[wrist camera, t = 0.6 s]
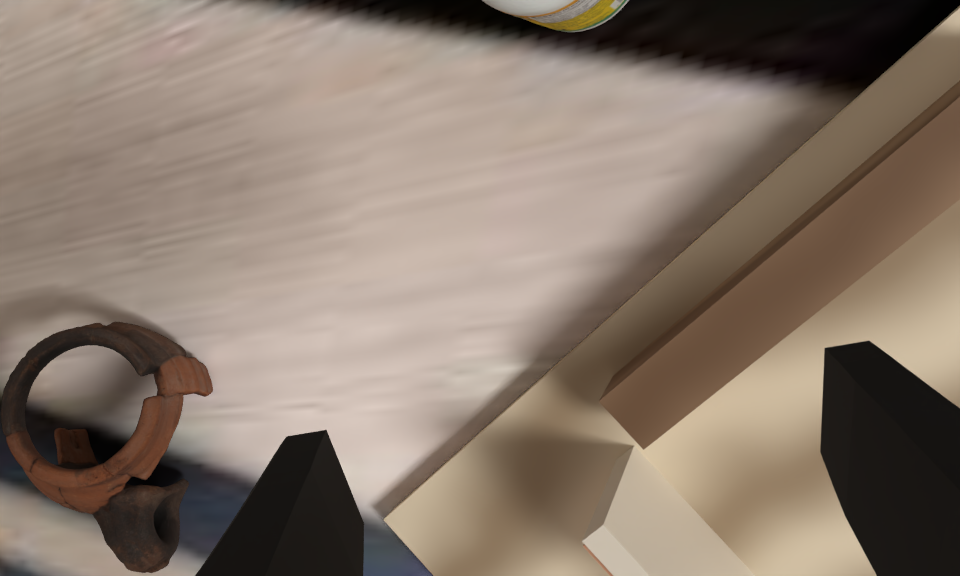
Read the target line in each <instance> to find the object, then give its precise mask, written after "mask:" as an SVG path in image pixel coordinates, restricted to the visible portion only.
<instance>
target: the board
mask: <svg viewBox="0 0 960 576" xmlns="http://www.w3.org/2000/svg"><path fill="white" fill-rule="evenodd" d="M958 81H960V6H959V7H957V8H956V9H955V10H954V11H953V12H952V13H951V14H950V15H948V16H947V17H946V18H945V19H944V20H943V21H942V22H941V23H939V24H938V25H937V26H936V27H935V28H934V29H933V30H932V31H930V32H929V33H928V34H927V35H926V36H925V37H924V38H923V39H921V40H920V41H919V42H918V43H917V44H916V45H915V46H914V47H912V48H911V49H910V50H909V51H908V52H907V53H906V54H905V55H903V56H902V57H901V58H900V59H899V60H898V61H897V62H896V63H894V64H893V65H892V66H891V67H890V68H889V69H888V70H887V71H885V72H884V73H883V74H882V75H881V76H880V77H879V78H878V79H876V80H875V81H874V82H873V83H872V84H871V85H870V86H869V87H867V88H866V89H865V90H864V91H863V92H862V93H861V94H860V95H858V96H857V97H856V98H855V99H854V100H853V101H852V102H851V103H849V104H848V105H847V106H846V107H845V108H844V109H843V110H842V111H840V112H839V113H838V114H837V115H836V116H835V117H834V118H833V119H831V120H830V121H829V122H828V123H827V124H826V125H825V126H824V127H822V128H821V129H820V130H819V131H818V132H817V133H816V134H815V135H813V136H812V137H811V138H810V139H809V140H808V141H807V142H806V143H804V144H803V145H802V146H801V147H800V148H799V149H798V150H797V151H795V152H794V153H793V154H792V155H791V156H790V157H789V158H788V159H786V160H785V161H784V162H783V163H782V164H781V165H780V166H779V167H777V168H776V169H775V170H774V171H773V172H772V173H771V174H770V175H768V176H767V177H766V178H765V179H764V180H763V181H762V182H761V183H760V184H758V185H757V186H756V187H755V188H754V189H753V190H752V191H751V192H749V193H748V194H747V195H746V196H745V197H744V198H743V199H742V200H740V201H739V202H738V203H737V204H736V205H735V206H734V207H733V208H731V209H730V210H729V211H728V212H727V213H726V214H725V215H724V216H722V217H721V218H720V219H719V220H718V221H717V222H716V223H715V224H713V225H712V226H711V227H710V228H709V229H708V230H707V231H706V232H704V233H703V234H702V235H701V236H700V237H699V238H698V239H697V240H695V241H694V242H693V243H692V244H691V245H690V246H689V247H688V248H686V249H685V250H684V251H683V252H682V253H681V254H680V255H679V256H677V257H676V258H675V259H674V260H673V261H672V262H671V263H670V264H668V265H667V266H666V267H665V268H664V269H663V270H662V271H661V272H659V273H658V274H657V275H656V276H655V277H654V278H653V279H652V280H650V281H649V282H648V283H647V284H646V285H645V286H644V287H643V288H641V289H640V290H639V291H638V292H637V293H636V294H635V295H634V296H632V297H631V298H630V299H629V300H628V301H627V302H626V303H625V304H623V305H622V306H621V307H620V308H619V309H618V310H617V311H616V312H614V313H613V314H612V315H611V316H610V317H609V318H608V319H607V320H605V321H604V322H603V323H602V324H601V325H600V326H599V327H598V328H596V329H595V330H594V331H593V332H592V333H591V334H590V335H589V336H587V337H586V338H585V339H584V340H583V341H582V342H581V343H580V344H578V345H577V346H576V347H575V348H574V349H573V350H572V351H571V352H569V353H568V354H567V355H566V356H565V357H564V358H563V359H562V360H560V361H559V362H558V363H557V364H556V365H555V366H554V367H553V368H551V369H550V370H549V371H548V372H547V373H546V374H545V375H544V376H542V377H541V378H540V379H539V380H538V381H537V382H536V383H535V384H533V385H532V386H531V387H530V388H529V389H528V390H527V391H526V392H524V393H523V394H522V395H521V396H520V397H519V398H518V399H517V400H515V401H514V402H513V403H512V404H511V405H510V406H509V407H508V408H506V409H505V410H504V411H503V412H502V413H501V414H500V415H499V416H497V417H496V418H495V419H494V420H493V421H492V422H491V423H490V424H488V425H487V426H486V427H485V428H484V429H483V430H482V431H481V432H479V433H478V434H477V435H476V436H475V437H474V438H473V439H472V440H470V441H469V442H468V443H467V444H466V445H465V446H464V447H463V448H461V449H460V450H459V451H458V452H457V453H456V454H455V455H454V456H452V457H451V458H450V459H449V460H448V461H447V462H446V463H445V464H443V465H442V466H441V467H440V468H439V469H438V470H437V471H436V472H434V473H433V474H432V475H431V476H430V477H429V478H428V479H427V480H425V481H424V482H423V483H422V484H421V485H420V486H419V487H418V488H416V489H415V490H414V491H413V492H412V493H411V494H410V495H409V496H407V497H406V498H405V499H404V500H403V501H402V502H401V503H400V504H398V505H397V506H396V507H395V508H394V509H393V510H392V511H391V512H390V513H389V514H388V515H387V516H386V517H385V518H384V521H385V522H386V523H387V524H388V525H389V526H390V528H391V529H392V530H393V531H394V532H395V533H396V534H397V535H398V537H399V538H400V539H401V540H402V541H403V542H404V543H405V544H406V545H407V547H408V548H409V549H410V550H411V551H412V552H413V553H414V554H415V556H416V557H417V558H418V559H419V560H420V561H421V562H422V563H423V564H424V566H425V567H426V568H427V569H428V570H429V571H430V572H431V573H432V575H433V576H610V575H609V574H608V573H607V572H606V571H605V570H604V569H603V567H602V566H601V565H600V564H599V563H598V562H597V561H596V560H595V559H594V558H593V557H592V555H591V554H590V553H589V552H588V551H587V550H586V549H585V548H584V547H583V545H584V543H583V542H582V540H583V537H584V535H585V533H586V530H587V528H588V526H589V523H590V521H591V519H592V516H593V514H594V512H595V509H596V507H597V504H598V502H599V500H600V497H601V495H602V493H603V490H604V488H605V486H606V483H607V481H608V479H609V476H610V474H611V471H612V469H613V467H614V464H615V462H616V460H617V459H618V458H619V457H620V456H622V455H623V454H624V453H625V452H627V451H628V450H629V449H630V448H632V447H633V446H635V447H636V448H637V449H638V450H639V451H640V452H641V453H642V454H643V456H644V457H645V458H646V459H647V460H648V461H649V462H650V463H651V464H652V465H653V466H654V467H655V468H656V469H657V471H658V472H659V473H660V474H661V475H662V476H663V477H664V478H665V479H666V480H667V481H668V482H669V483H670V485H671V486H672V487H673V488H674V489H675V490H676V491H677V492H678V493H679V494H680V495H681V496H682V497H683V499H684V500H685V501H686V502H687V503H688V504H689V505H690V506H691V507H692V508H693V509H694V510H695V511H696V512H697V514H698V515H699V516H700V517H701V518H702V519H703V520H704V521H705V522H706V523H707V524H708V525H709V526H710V528H711V529H712V530H713V531H714V532H715V533H716V534H717V535H718V536H719V537H720V538H721V539H722V540H723V541H724V543H725V544H726V545H727V546H728V547H729V548H730V549H731V550H732V551H733V552H734V553H735V554H736V555H737V557H738V558H739V559H740V560H741V561H742V562H743V563H744V564H745V565H746V566H747V567H748V568H749V569H750V571H751V572H752V573H753V574H754V575H755V576H877V575H876V573H875V571H874V570H873V568H872V566H871V564H870V562H869V560H868V558H867V557H866V555H865V553H864V551H863V549H862V547H861V545H860V543H859V542H858V540H857V538H856V536H855V534H854V532H853V530H852V528H851V527H850V525H849V523H848V521H847V519H846V517H845V515H844V512H843V510H842V507H841V505H840V502H839V500H838V497H837V495H836V492H835V490H834V487H833V485H832V482H831V479H830V477H829V474H828V471H827V469H826V466H825V463H824V461H823V458H822V455H821V453H820V446H821V422H822V398H823V374H824V350H825V348H827V347H833V346H839V345H845V344H851V343H857V342H863V341H871V342H872V343H873V344H875V345H876V346H877V347H879V348H880V349H881V350H883V351H884V352H885V353H887V354H888V355H890V356H891V357H892V358H893V359H895V360H896V361H897V362H899V363H900V364H901V365H903V366H904V367H905V368H907V369H908V370H909V371H911V372H912V373H913V374H915V375H916V376H917V377H919V378H920V379H921V380H923V381H924V382H925V383H927V384H928V385H929V386H931V387H932V388H933V389H935V390H936V391H937V392H939V393H940V394H941V395H943V396H944V397H945V398H947V399H948V400H949V401H951V402H952V403H953V404H955V405H956V406H958V407H959V408H960V200H958V201H957V202H956V203H955V204H953V205H952V206H951V207H950V208H948V209H947V210H946V211H945V212H943V213H942V214H941V215H939V216H938V217H937V218H936V219H934V220H933V221H932V222H931V223H929V224H928V225H927V226H926V227H924V228H923V229H922V230H921V231H919V232H918V233H917V234H915V235H914V236H913V237H912V238H910V239H909V240H908V241H907V242H905V243H904V244H903V245H902V246H900V247H899V248H898V249H897V250H895V251H894V252H893V253H892V254H890V255H889V256H888V257H886V258H885V259H884V260H883V261H881V262H880V263H879V264H878V265H876V266H875V267H874V268H873V269H871V270H870V271H869V272H868V273H866V274H865V275H864V276H862V277H861V278H860V279H859V280H857V281H856V282H855V283H854V284H852V285H851V286H850V287H849V288H847V289H846V290H845V291H844V292H842V293H841V294H840V295H839V296H837V297H836V298H835V299H833V300H832V301H831V302H830V303H828V304H827V305H826V306H825V307H823V308H822V309H821V310H820V311H818V312H817V313H816V314H815V315H813V316H812V317H811V318H809V319H808V320H807V321H806V322H804V323H803V324H802V325H801V326H799V327H798V328H797V329H796V330H794V331H793V332H792V333H791V334H789V335H788V336H787V337H786V338H784V339H783V340H782V341H780V342H779V343H778V344H777V345H775V346H774V347H773V348H772V349H770V350H769V351H768V352H767V353H765V354H764V355H763V356H762V357H760V358H759V359H758V360H756V361H755V362H754V363H753V364H751V365H750V366H749V367H748V368H746V369H745V370H744V371H743V372H741V373H740V374H739V375H738V376H736V377H735V378H734V379H733V380H731V381H730V382H729V383H727V384H726V385H725V386H724V387H722V388H721V389H720V390H719V391H717V392H716V393H715V394H714V395H712V396H711V397H710V398H709V399H707V400H706V401H705V402H703V403H702V404H701V405H700V406H698V407H697V408H696V409H695V410H693V411H692V412H691V413H690V414H688V415H687V416H686V417H685V418H683V419H682V420H681V421H679V422H678V423H677V424H676V425H674V426H673V427H672V428H671V429H669V430H668V431H667V432H666V433H664V434H663V435H662V436H661V437H659V438H658V439H657V440H656V441H654V442H653V443H652V444H650V445H649V446H648V447H647V448H645V449H644V450H643V449H642V448H641V447H640V445H639V444H638V443H637V442H636V441H635V440H634V439H633V438H632V437H631V436H630V435H629V434H628V433H627V432H626V430H625V429H624V428H623V427H622V426H621V425H620V424H619V423H618V422H617V421H616V420H615V419H614V418H613V416H612V415H611V414H610V413H609V412H608V411H607V410H606V409H605V408H604V407H603V406H602V405H601V404H600V403H599V400H600V398H601V396H602V395H603V393H604V391H605V389H606V387H607V386H608V384H609V382H610V380H611V379H612V377H613V375H614V374H616V373H617V372H618V371H619V370H620V369H622V368H623V367H624V366H625V365H626V364H627V363H629V362H630V361H631V360H632V359H633V358H634V357H636V356H637V355H638V354H639V353H640V352H641V351H643V350H644V349H645V348H646V347H647V346H649V345H650V344H651V343H652V342H653V341H654V340H656V339H657V338H658V337H659V336H660V335H661V334H663V333H664V332H665V331H666V330H667V329H668V328H670V327H671V326H672V325H673V324H674V323H676V322H677V321H678V320H679V319H680V318H681V317H683V316H684V315H685V314H686V313H687V312H688V311H690V310H691V309H692V308H693V307H694V306H695V305H697V304H698V303H699V302H700V301H701V300H703V299H704V298H705V297H706V296H707V295H708V294H710V293H711V292H712V291H713V290H714V289H715V288H717V287H718V286H719V285H720V284H721V283H722V282H724V281H725V280H726V279H727V278H728V277H730V276H731V275H732V274H733V273H734V272H735V271H737V270H738V269H739V268H740V267H741V266H742V265H744V264H745V263H746V262H747V261H748V260H750V259H751V258H752V257H753V256H754V255H755V254H757V253H758V252H759V251H760V250H761V249H762V248H764V247H765V246H766V245H767V244H768V243H769V242H771V241H772V240H773V239H774V238H775V237H777V236H778V235H779V234H780V233H781V232H782V231H784V230H785V229H786V228H787V227H788V226H789V225H791V224H792V223H793V222H794V221H795V220H796V219H798V218H799V217H800V216H801V215H802V214H804V213H805V212H806V211H807V210H808V209H809V208H811V207H812V206H813V205H814V204H815V203H816V202H818V201H819V200H820V199H821V198H822V197H823V196H825V195H826V194H827V193H828V192H829V191H831V190H832V189H833V188H834V187H835V186H836V185H838V184H839V183H840V182H841V181H842V180H843V179H845V178H846V177H847V176H848V175H849V174H850V173H852V172H853V171H854V170H855V169H856V168H858V167H859V166H860V165H861V164H862V163H863V162H865V161H866V160H867V159H868V158H869V157H870V156H872V155H873V154H874V153H875V152H876V151H877V150H879V149H880V148H881V147H882V146H883V145H885V144H886V143H887V142H888V141H889V140H890V139H892V138H893V137H894V136H895V135H896V134H897V133H899V132H900V131H901V130H902V129H903V128H904V127H906V126H907V125H908V124H909V123H910V122H912V121H913V120H914V119H915V118H916V117H917V116H919V115H920V114H921V113H922V112H923V111H924V110H926V109H927V108H928V107H929V106H930V105H931V104H933V103H934V102H935V101H936V100H937V99H939V98H940V97H941V96H942V95H943V94H944V93H946V92H947V91H948V90H949V89H950V88H951V87H953V86H954V85H955V84H956V83H957V82H958Z"/></svg>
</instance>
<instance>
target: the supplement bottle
mask: <svg viewBox="0 0 960 576" xmlns="http://www.w3.org/2000/svg"><path fill="white" fill-rule="evenodd" d="M482 1H484V2H485V3H486V4H488V5H490V6H491V7H493V8H495V9H497V10H499V11H502V12H504V13H507V14H510V15H513V16H516V17H519V18H522V19H525V20H527V21H530V22H533V23H535V24H538V25H542V26H545V27H548V28H551V29H554V30H558V31H564V32H579V31H584V30H588V29H591V28H594V27H596V26H599V25H601V24H602V23H604V22H606V21H608V20H609V19H611V18H612V17H613V16H614V15H616V14H617V13H618V12H619V11H620V10H621V9H622V8H623V7H624V6H625V4H626V3H627V2H628V1H629V0H482Z"/></svg>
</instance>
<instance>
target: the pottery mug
mask: <svg viewBox="0 0 960 576" xmlns="http://www.w3.org/2000/svg"><path fill="white" fill-rule="evenodd" d="M85 345H98V346H103V347H107V348H110V349H113V350H115V351H116V352H118V353H120V354H121V355H122V356H124V357H125V358H126V359H127V360H128V361H129V362H130V363H131V364H132V365H133V367H134V368H135V370H136V372H137V373H138V375H139V376H144V375H147V374H154V377H155V382H156V385H157V389H158V391H157V396H152V397H148V398H146V399H144V401H143V406H142V410H141V415H140V418H139V421H138V425H137V427H136V430H135V432H134V433H133V435H132V436H131V438H130V439H129V440H128V442H127V443H126V444H125V445H124V447H123V448H122V449H120V450H119V451H118V452H117V453H116V454H115V455H114V456H112V457H111V458H110V459H108V460H107V461H106V462H105V463H102V464H100V465H98V462H97V460H96V458H95V456H94V453H93V451H92V448H91V446H90V442H89V437H88V433H87V431H86V430H85V429H74V430H67V429H64V428H58V429H56V430H55V442H56V446H57V457H58V463H59V465H53V464H51V463H49V462H48V461H47V460H45V459H44V458H43V457H42V456H41V455H40V454H39V453H38V451H37V450H36V449H35V447H34V445H33V443H32V441H31V439H30V436H29V433H28V432H27V429H26V423H25V408H26V402H27V398H28V394H29V392H30V389H31V386H32V384H33V382H34V380H35V379H36V377H37V376H38V374H39V372H40V371H41V370H42V369H43V368H44V367H45V366H46V365H47V364H48V363H49V362H50V361H51V360H53V359H54V358H56V357H57V356H59V355H60V354H62V353H64V352H66V351H68V350H70V349H73V348H76V347H80V346H85ZM212 391H213V387H212V382H211V379H210V376H209V373H208V370H207V368H206V366H205V365H204V364H202V363H200V362H198V360H197V359H196V358H189V357H186V352H185V350H184V349H183V348H182V347H181V346H180V345H178V344H176V343H174V342H173V341H171V340H169V339H168V338H166V337H164V336H162V335H160V334H158V333H156V332H153V331H151V330H149V329H146V328H143V327H140V326H137V325H133V324H128V323H123V322H113V323H111V324H110V325H107V326H105V325H102V324H101V323H94V324H90V325H85V326H82V327H76V328H73V329H68V330H64V331H60V332H57V333H55V334H53V335H51V336H49V337H48V338H45V339H44V340H42V341H40V342H39V343H38V344H37V345H36V346H35V347H33V348H32V349H30V350H29V351H28V352H27V354H26V356H25V357H24V358H22V359H21V361H20V362H19V364H18V365H17V366H16V368H15V370H14V371H13V372H12V373H11V375H10V377H9V380H8V382H7V384H6V386H5V388H4V392H3V396H2V405H1V422H2V429H3V433H4V434H5V435H6V439H7V443H8V446H9V448H10V451H11V453H12V454H13V456H14V457H15V459H16V460H17V462H18V463H19V464H20V465H21V466H22V467H23V469H24V471H25V473H26V474H27V476H28V477H29V479H30V480H31V481H32V483H33V484H34V485H35V486H36V487H37V488H38V489H39V490H40V491H41V492H42V493H43V494H45V495H46V496H47V497H49V498H50V499H51V500H53V501H55V502H56V503H59V504H60V505H62V506H64V507H67V508H70V509H73V510H76V511H78V512H82V513H85V512H86V513H89V514H93V516H94V518H95V519H96V520H97V522H98V524H99V526H100V528H101V530H102V533H103V535H104V538H105V541H106V543H107V545H108V546H109V547H110V548H111V549H112V551H113V552H114V553H115V555H116V557H117V558H118V559H119V560H120V561H121V562H122V563H123V564H124V565H125V567H126V568H127V569H128V570H131V571H136V572H141V573H146V572H149V573H153V572H156V571H159V570H160V569H163V568H164V567H166V566H167V565H168V564H169V560H170V558H171V557H172V555H173V554H174V552H175V551H176V549H177V546H178V542H179V530H180V521H179V506H180V503H181V500H182V498H183V496H184V494H185V492H186V489H187V487H188V485H189V483H188V481H186V480H185V479H182V480H180V481H178V482H176V483H175V484H173V485H170V486H167V487H158V486H148V485H136V486H133V485H129V484H126V482H127V481H128V480H129V479H130V478H131V477H137V478H140V479H144V480H146V479H147V478H148V477H149V476H150V475H151V474H152V472H153V470H154V469H155V467H156V466H157V464H158V463H159V461H160V459H161V457H162V456H163V455H164V453H165V452H166V450H167V448H168V445H169V442H170V440H171V438H172V435H173V433H174V431H175V429H176V427H177V424H178V422H179V419H180V416H181V411H182V406H183V395H187V394H193V393H194V394H198V395H201V396H208V395H209V394H211V393H212Z"/></svg>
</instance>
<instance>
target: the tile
mask: <svg viewBox="0 0 960 576" xmlns="http://www.w3.org/2000/svg"><path fill="white" fill-rule="evenodd" d="M582 542H583V543H584V545H583V547H584V548H585V549H586V550H587V551H588V552H589V553H590V554H591V555H592V557H593V558H594V559H595V560H596V561H597V562H598V563H599V564H600V565H601V566H602V567H603V569H604V570H605V571H606V572H607V573H608V574H609V575H610V576H755V575H754V574H753V573H752V572H751V571H750V569H749V568H748V567H747V566H746V565H745V564H744V563H743V562H742V561H741V560H740V559H739V558H738V557H737V555H736V554H735V553H734V552H733V551H732V550H731V549H730V548H729V547H728V546H727V545H726V544H725V543H724V541H723V540H722V539H721V538H720V537H719V536H718V535H717V534H716V533H715V532H714V531H713V530H712V529H711V528H710V526H709V525H708V524H707V523H706V522H705V521H704V520H703V519H702V518H701V517H700V516H699V515H698V514H697V512H696V511H695V510H694V509H693V508H692V507H691V506H690V505H689V504H688V503H687V502H686V501H685V500H684V499H683V497H682V496H681V495H680V494H679V493H678V492H677V491H676V490H675V489H674V488H673V487H672V486H671V485H670V483H669V482H668V481H667V480H666V479H665V478H664V477H663V476H662V475H661V474H660V473H659V472H658V471H657V469H656V468H655V467H654V466H653V465H652V464H651V463H650V462H649V461H648V460H647V459H646V458H645V457H644V456H643V454H642V453H641V452H640V451H639V450H638V449H637V448H636V447H635V446H633V447H632V448H630V449H629V450H628V451H627V452H625V453H624V454H623V455H622V456H620V457H619V458H618V459H617V460H616V462H615V464H614V467H613V469H612V471H611V474H610V476H609V479H608V481H607V483H606V486H605V488H604V490H603V493H602V495H601V497H600V500H599V502H598V504H597V507H596V509H595V512H594V514H593V516H592V519H591V521H590V523H589V526H588V528H587V530H586V533H585V535H584V537H583V540H582Z"/></svg>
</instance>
